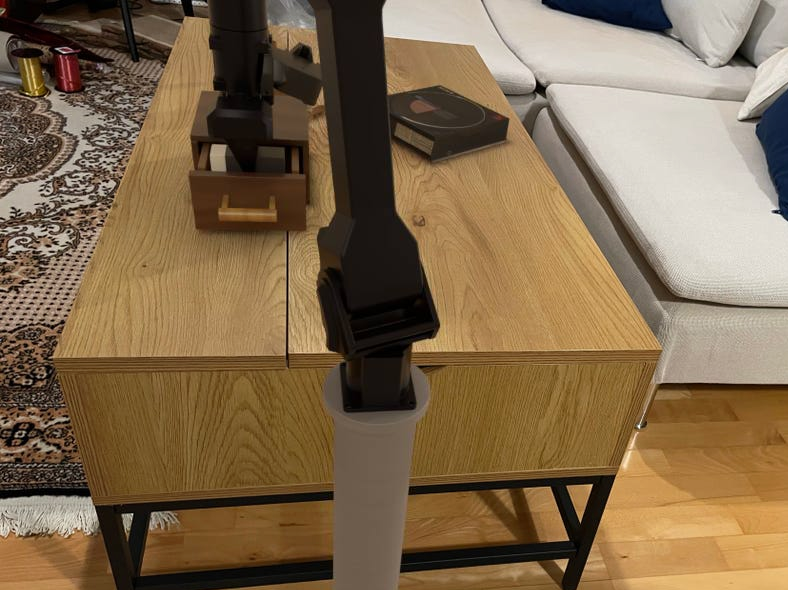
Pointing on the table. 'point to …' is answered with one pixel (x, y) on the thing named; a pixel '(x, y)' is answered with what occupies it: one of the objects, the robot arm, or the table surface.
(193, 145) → the cabinet
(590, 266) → the table surface
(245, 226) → the drawer
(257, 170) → the black rubber eraser
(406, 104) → the portable cd player
